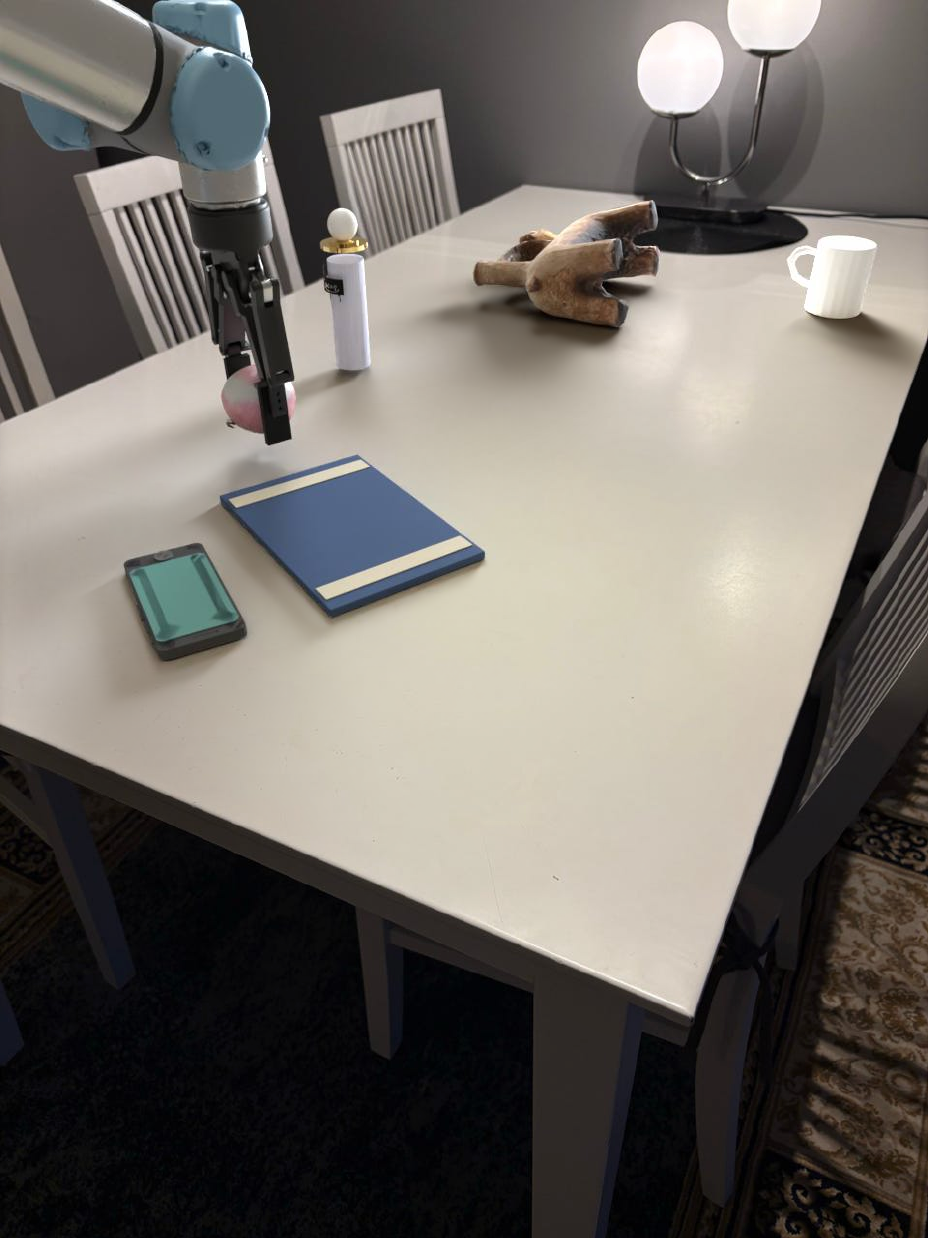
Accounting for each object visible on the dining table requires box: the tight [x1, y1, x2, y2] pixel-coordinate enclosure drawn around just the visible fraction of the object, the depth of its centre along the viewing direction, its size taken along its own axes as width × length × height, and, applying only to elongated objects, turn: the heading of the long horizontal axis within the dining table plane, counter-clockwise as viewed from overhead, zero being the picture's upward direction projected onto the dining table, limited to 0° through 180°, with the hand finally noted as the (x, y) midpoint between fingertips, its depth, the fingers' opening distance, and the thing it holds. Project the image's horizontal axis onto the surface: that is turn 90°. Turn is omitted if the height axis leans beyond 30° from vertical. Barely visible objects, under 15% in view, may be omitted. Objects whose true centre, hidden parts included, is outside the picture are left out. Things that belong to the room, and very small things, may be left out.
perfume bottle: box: [319, 207, 372, 371], centre depth 115 cm, size 6×6×20 cm
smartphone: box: [122, 542, 248, 661], centre depth 78 cm, size 7×1×15 cm
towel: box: [219, 454, 486, 618], centre depth 88 cm, size 24×16×1 cm, turn 35°
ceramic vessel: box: [472, 199, 661, 328], centre depth 142 cm, size 13×31×25 cm
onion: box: [220, 364, 297, 435], centre depth 96 cm, size 8×8×7 cm
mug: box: [786, 235, 878, 320], centre depth 136 cm, size 8×12×10 cm, turn 74°
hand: (261, 426), depth 98 cm, fingers closed on onion, 8 cm apart
